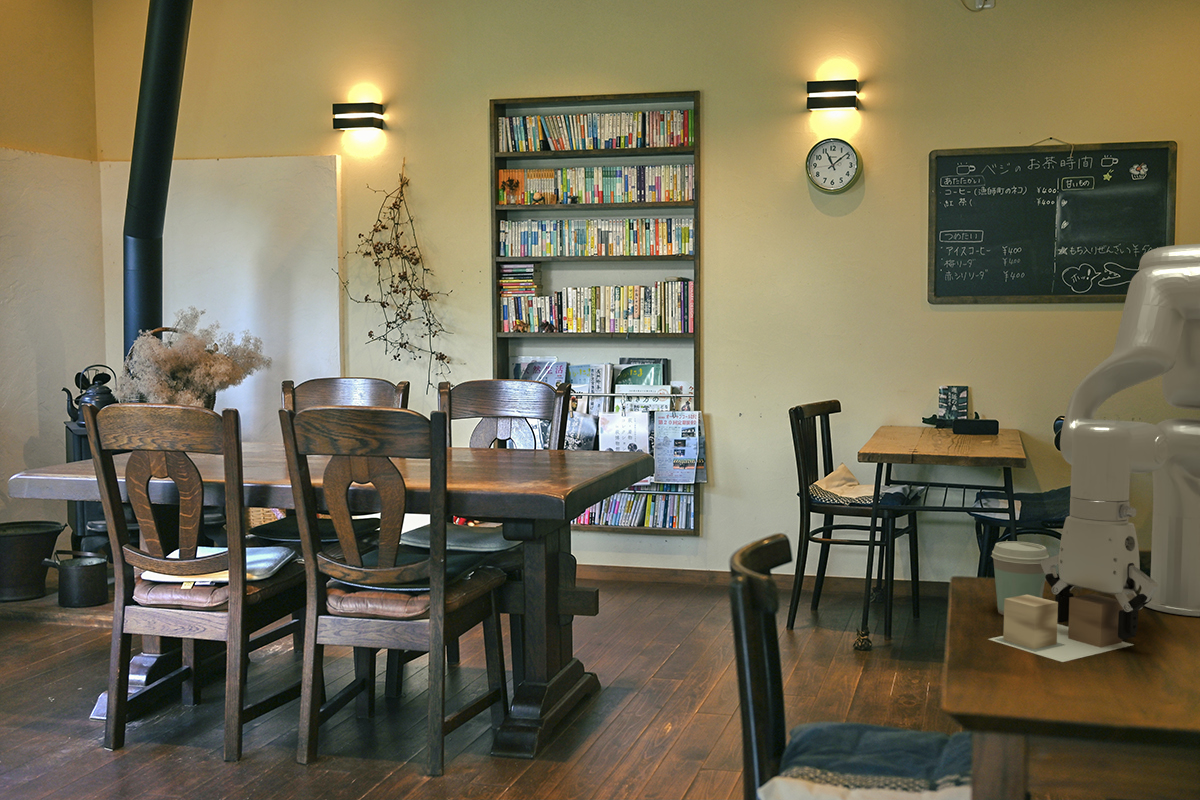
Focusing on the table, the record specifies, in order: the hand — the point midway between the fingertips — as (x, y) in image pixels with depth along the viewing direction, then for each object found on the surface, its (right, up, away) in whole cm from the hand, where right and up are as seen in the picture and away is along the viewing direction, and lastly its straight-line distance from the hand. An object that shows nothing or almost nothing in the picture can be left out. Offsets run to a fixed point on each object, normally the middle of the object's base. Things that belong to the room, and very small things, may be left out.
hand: (1094, 629), depth 144 cm
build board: (-5, -3, 0) cm, 6 cm away
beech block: (-10, -2, -1) cm, 10 cm away
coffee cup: (-5, -2, +15) cm, 16 cm away
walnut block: (0, -2, 0) cm, 2 cm away
